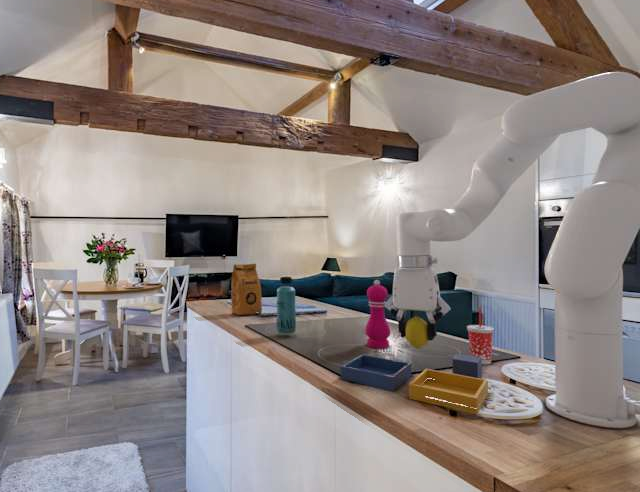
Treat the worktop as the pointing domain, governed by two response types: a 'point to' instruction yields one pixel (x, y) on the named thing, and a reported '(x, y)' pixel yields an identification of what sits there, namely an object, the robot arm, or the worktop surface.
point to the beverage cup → (481, 341)
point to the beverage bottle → (286, 307)
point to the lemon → (416, 332)
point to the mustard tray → (449, 390)
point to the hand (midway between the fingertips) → (417, 337)
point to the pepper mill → (377, 317)
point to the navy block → (467, 366)
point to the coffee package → (245, 290)
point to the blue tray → (376, 372)
